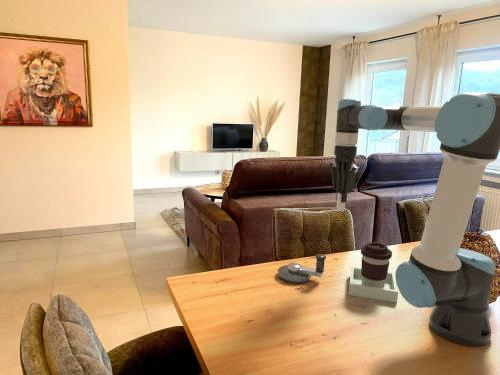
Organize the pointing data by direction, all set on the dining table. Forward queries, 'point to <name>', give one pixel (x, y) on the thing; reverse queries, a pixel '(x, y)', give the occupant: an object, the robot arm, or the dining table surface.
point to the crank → (317, 272)
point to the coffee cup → (375, 264)
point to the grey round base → (293, 276)
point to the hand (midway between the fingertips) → (340, 210)
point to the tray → (371, 292)
